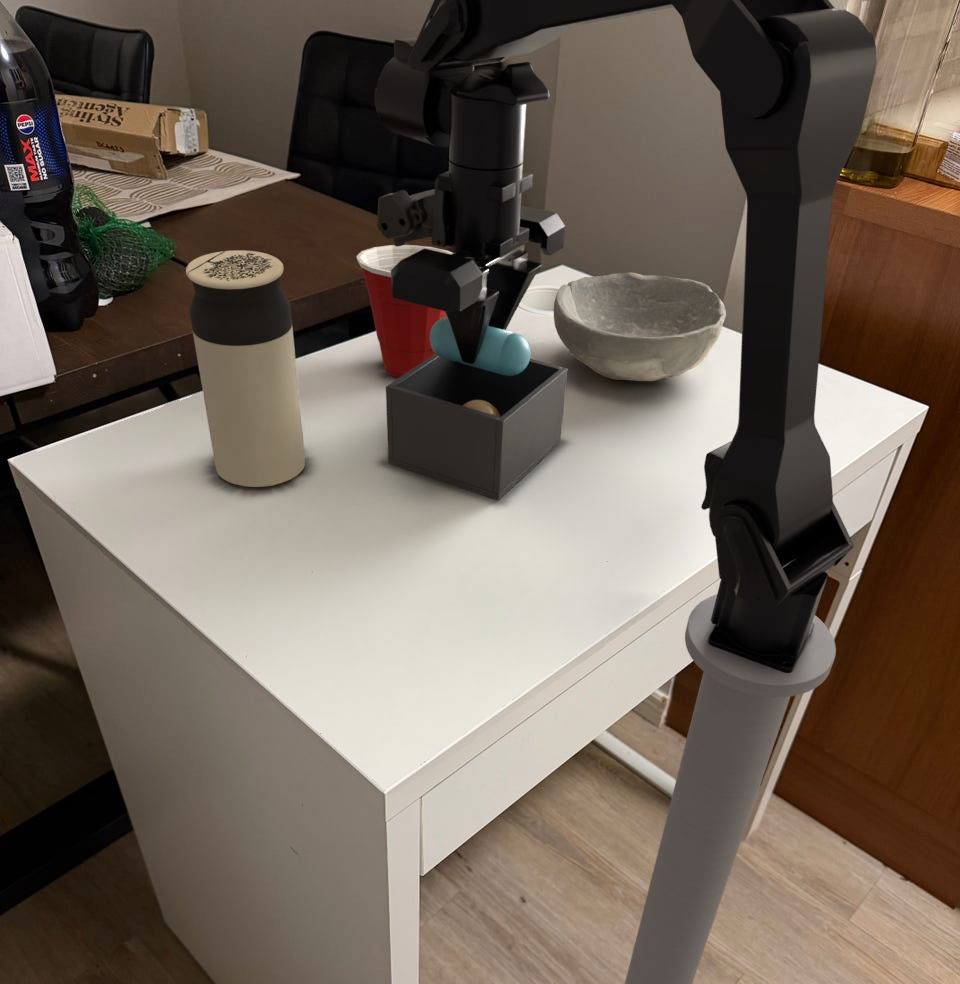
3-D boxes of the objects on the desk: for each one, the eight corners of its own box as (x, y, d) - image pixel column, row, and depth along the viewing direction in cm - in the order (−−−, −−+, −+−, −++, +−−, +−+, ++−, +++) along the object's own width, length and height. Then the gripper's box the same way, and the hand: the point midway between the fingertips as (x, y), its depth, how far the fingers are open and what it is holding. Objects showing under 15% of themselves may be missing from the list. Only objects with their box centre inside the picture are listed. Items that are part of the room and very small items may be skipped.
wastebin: (560, 443, 91) (567, 368, 86) (498, 500, 83) (503, 421, 78) (456, 411, 96) (457, 338, 91) (388, 463, 87) (385, 386, 82)
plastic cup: (476, 356, 106) (479, 245, 98) (441, 398, 98) (442, 280, 90) (386, 340, 108) (382, 231, 100) (345, 379, 100) (337, 264, 92)
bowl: (519, 377, 102) (523, 303, 97) (592, 324, 113) (600, 256, 108) (674, 424, 95) (688, 347, 90) (736, 362, 107) (751, 291, 101)
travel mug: (323, 459, 87) (306, 260, 76) (269, 499, 82) (242, 292, 70) (254, 437, 90) (227, 242, 78) (197, 474, 85) (160, 270, 73)
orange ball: (507, 446, 90) (512, 401, 87) (484, 459, 86) (489, 413, 84) (467, 434, 91) (471, 389, 89) (443, 447, 88) (447, 401, 86)
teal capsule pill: (536, 371, 83) (539, 331, 81) (516, 386, 81) (519, 346, 78) (443, 345, 87) (443, 306, 84) (421, 359, 84) (421, 319, 82)
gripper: (459, 122, 82) (456, 301, 92) (327, 169, 70) (341, 370, 80) (575, 142, 78) (558, 327, 88) (457, 196, 66) (454, 404, 76)
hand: (479, 354), depth 83 cm, fingers closed on teal capsule pill, 3 cm apart
